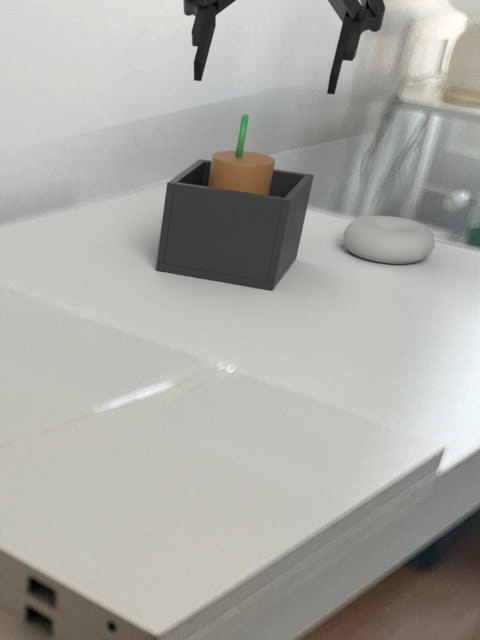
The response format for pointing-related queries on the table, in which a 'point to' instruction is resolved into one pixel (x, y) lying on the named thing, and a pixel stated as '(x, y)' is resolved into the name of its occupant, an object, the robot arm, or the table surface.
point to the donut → (389, 239)
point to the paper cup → (241, 168)
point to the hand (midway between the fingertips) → (263, 78)
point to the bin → (232, 228)
